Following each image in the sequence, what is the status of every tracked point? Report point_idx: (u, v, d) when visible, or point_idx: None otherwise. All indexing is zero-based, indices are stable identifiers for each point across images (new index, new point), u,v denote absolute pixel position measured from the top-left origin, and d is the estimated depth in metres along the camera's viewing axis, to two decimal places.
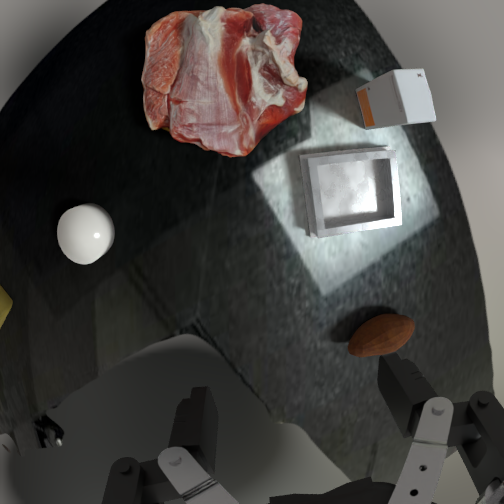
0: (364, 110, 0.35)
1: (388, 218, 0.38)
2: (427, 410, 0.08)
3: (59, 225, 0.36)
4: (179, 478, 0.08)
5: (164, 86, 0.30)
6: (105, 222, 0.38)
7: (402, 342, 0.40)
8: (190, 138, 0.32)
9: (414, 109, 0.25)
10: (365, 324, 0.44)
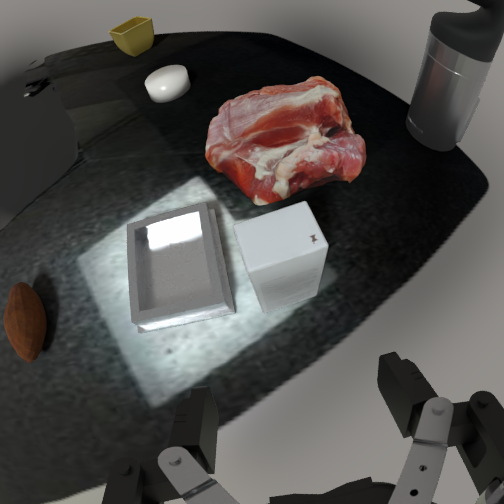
0: None
1: (139, 305, 0.31)
2: (427, 410, 0.08)
3: (176, 65, 0.49)
4: (179, 478, 0.08)
5: (266, 91, 0.38)
6: (171, 90, 0.47)
7: (8, 329, 0.27)
8: (219, 109, 0.38)
9: (254, 232, 0.22)
10: (40, 301, 0.33)
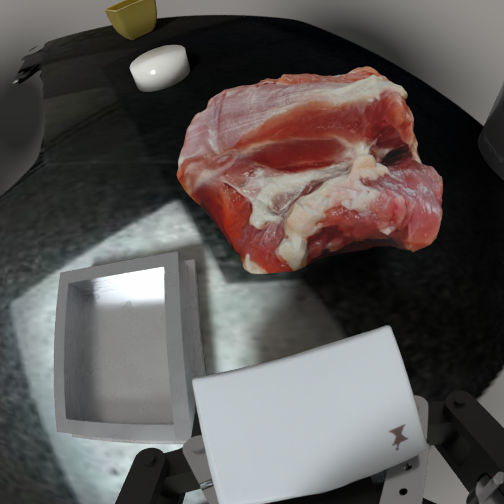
0: None
1: (68, 408, 0.16)
2: None
3: (173, 45, 0.36)
4: (205, 466, 0.08)
5: (286, 80, 0.24)
6: (162, 75, 0.34)
7: None
8: (208, 102, 0.23)
9: (246, 414, 0.07)
10: None
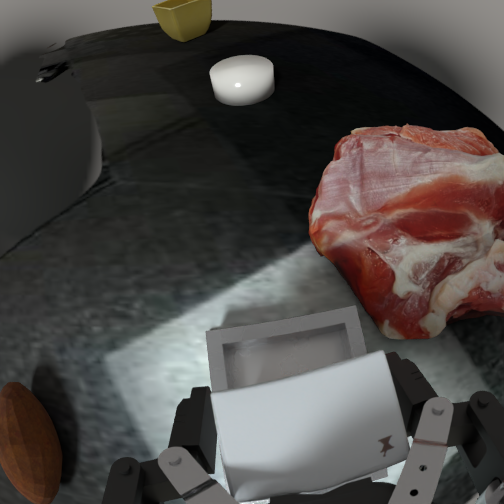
0: None
1: None
2: (427, 410, 0.08)
3: (254, 56, 0.35)
4: (179, 478, 0.08)
5: (409, 133, 0.23)
6: (253, 89, 0.33)
7: (5, 468, 0.12)
8: (340, 148, 0.22)
9: (258, 423, 0.08)
10: (47, 420, 0.18)
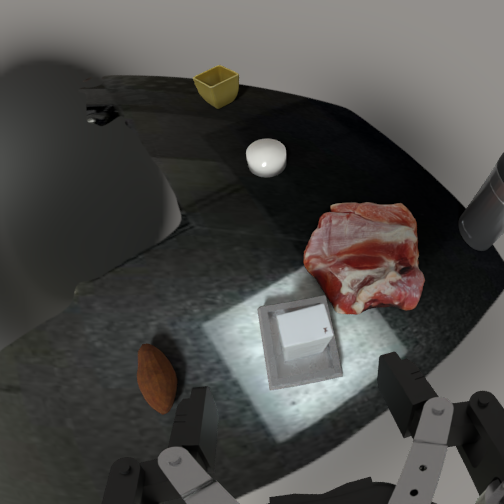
0: None
1: (277, 372, 0.41)
2: (427, 410, 0.08)
3: (273, 140, 0.61)
4: (179, 478, 0.08)
5: (360, 211, 0.48)
6: (274, 169, 0.59)
7: (148, 390, 0.38)
8: (321, 222, 0.48)
9: (290, 322, 0.34)
10: (169, 362, 0.44)
